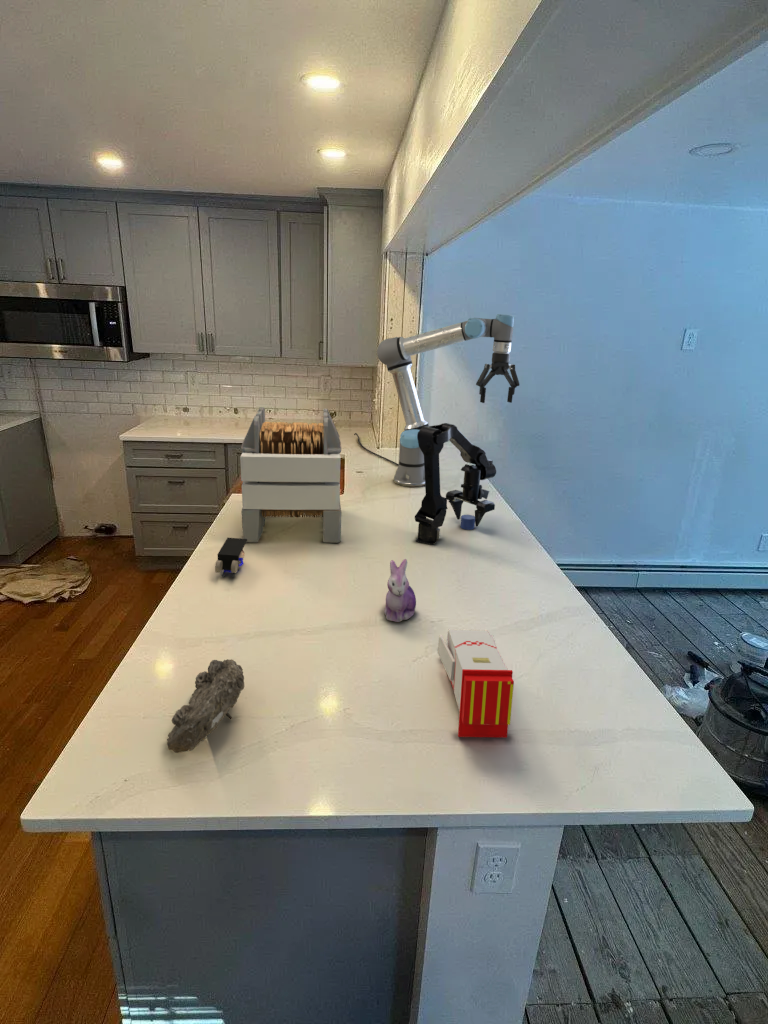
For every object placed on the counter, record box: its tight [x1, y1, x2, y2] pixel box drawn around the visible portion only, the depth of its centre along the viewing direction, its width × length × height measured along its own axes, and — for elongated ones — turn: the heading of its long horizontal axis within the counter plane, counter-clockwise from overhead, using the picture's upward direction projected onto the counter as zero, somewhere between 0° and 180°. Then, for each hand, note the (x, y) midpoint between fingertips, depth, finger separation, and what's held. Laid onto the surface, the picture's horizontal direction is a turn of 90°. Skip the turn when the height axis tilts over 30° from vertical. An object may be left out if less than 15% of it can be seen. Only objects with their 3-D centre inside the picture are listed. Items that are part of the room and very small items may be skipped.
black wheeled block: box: [214, 537, 248, 578], centre depth 166 cm, size 7×8×15 cm
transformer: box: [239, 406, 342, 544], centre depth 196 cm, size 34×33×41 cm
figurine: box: [384, 558, 417, 623], centre depth 145 cm, size 9×10×15 cm
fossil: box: [166, 658, 245, 754], centre depth 106 cm, size 22×10×15 cm
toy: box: [437, 628, 515, 738], centre depth 117 cm, size 12×13×30 cm
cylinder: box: [459, 514, 476, 531], centre depth 208 cm, size 5×5×4 cm
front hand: (467, 522), depth 208 cm, fingers open, 8 cm apart
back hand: (495, 402), depth 250 cm, fingers open, 13 cm apart
